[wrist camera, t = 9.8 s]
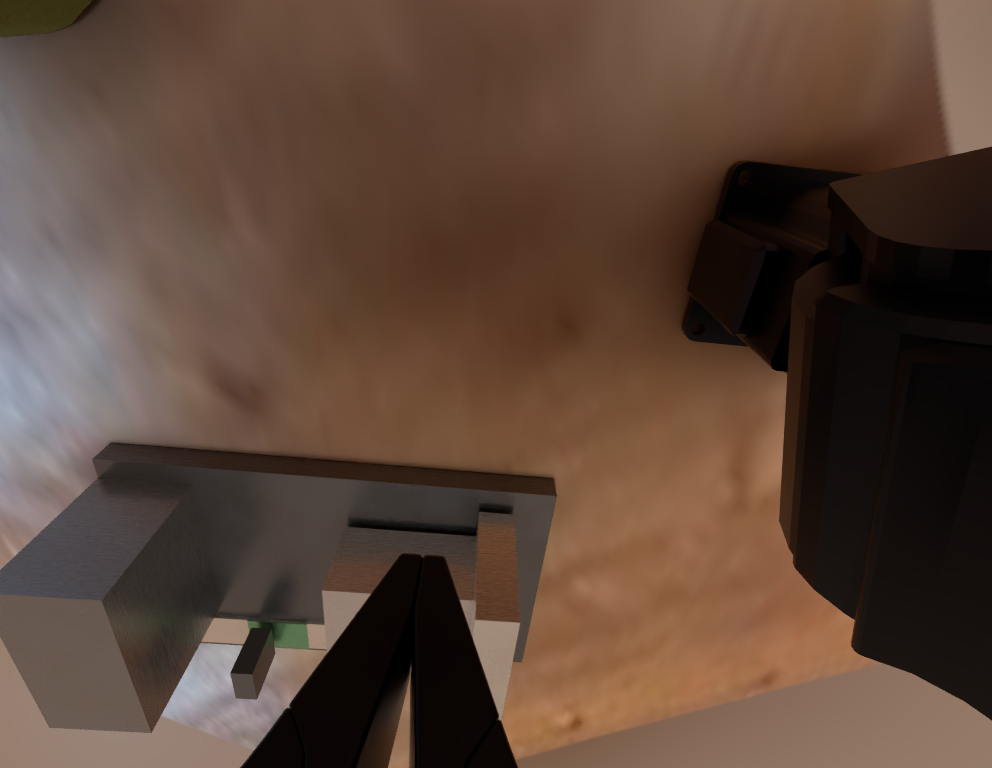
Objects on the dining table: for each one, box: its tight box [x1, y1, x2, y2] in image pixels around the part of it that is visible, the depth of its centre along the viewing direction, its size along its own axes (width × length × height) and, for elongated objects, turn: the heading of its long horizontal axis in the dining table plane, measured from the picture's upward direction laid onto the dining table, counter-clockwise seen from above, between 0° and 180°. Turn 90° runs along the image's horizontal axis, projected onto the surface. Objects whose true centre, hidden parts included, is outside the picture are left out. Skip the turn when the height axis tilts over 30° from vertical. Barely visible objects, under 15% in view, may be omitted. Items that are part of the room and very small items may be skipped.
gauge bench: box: [0, 443, 557, 733], centre depth 23 cm, size 20×12×7 cm, turn 84°
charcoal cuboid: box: [230, 628, 275, 699], centre depth 26 cm, size 1×2×2 cm, turn 174°
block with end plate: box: [322, 512, 520, 720], centre depth 23 cm, size 8×10×6 cm
